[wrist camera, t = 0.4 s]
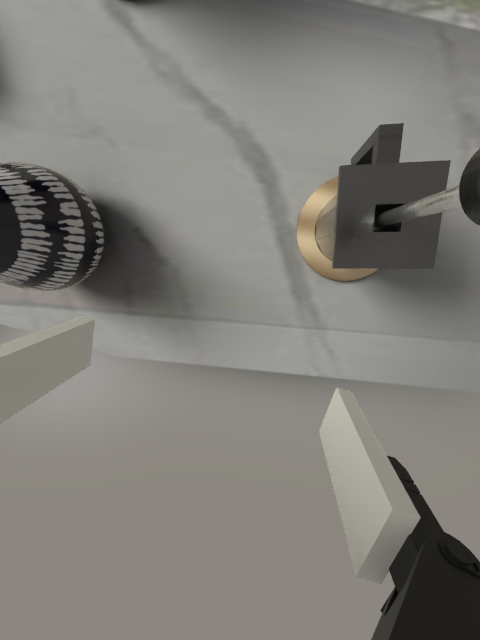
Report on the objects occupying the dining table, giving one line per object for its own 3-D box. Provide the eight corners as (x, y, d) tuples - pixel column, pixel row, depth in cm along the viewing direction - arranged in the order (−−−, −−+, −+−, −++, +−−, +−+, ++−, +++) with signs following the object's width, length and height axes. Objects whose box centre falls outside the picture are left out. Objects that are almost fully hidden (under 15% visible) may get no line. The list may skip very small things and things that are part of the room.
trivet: (298, 178, 37) (299, 176, 36) (406, 173, 35) (409, 171, 34) (294, 280, 40) (295, 280, 40) (393, 280, 39) (395, 280, 38)
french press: (317, 166, 36) (342, 119, 23) (391, 162, 35) (459, 111, 22) (312, 264, 39) (332, 269, 26) (380, 263, 38) (434, 269, 25)
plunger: (340, 185, 27) (489, 40, 9) (416, 182, 26) (762, 14, 8) (335, 258, 29) (449, 268, 10) (406, 257, 28) (669, 267, 10)
